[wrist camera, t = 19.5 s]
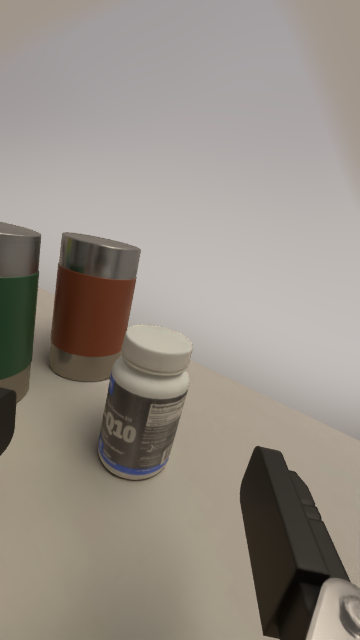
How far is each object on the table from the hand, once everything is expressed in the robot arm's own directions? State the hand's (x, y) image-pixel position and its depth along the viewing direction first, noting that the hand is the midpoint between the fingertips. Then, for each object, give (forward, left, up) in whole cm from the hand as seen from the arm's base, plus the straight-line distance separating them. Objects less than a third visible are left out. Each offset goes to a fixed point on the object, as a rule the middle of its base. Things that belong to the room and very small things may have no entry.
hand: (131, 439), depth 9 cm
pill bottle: (0, -8, -8) cm, 11 cm away
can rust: (+7, -18, -8) cm, 20 cm away
